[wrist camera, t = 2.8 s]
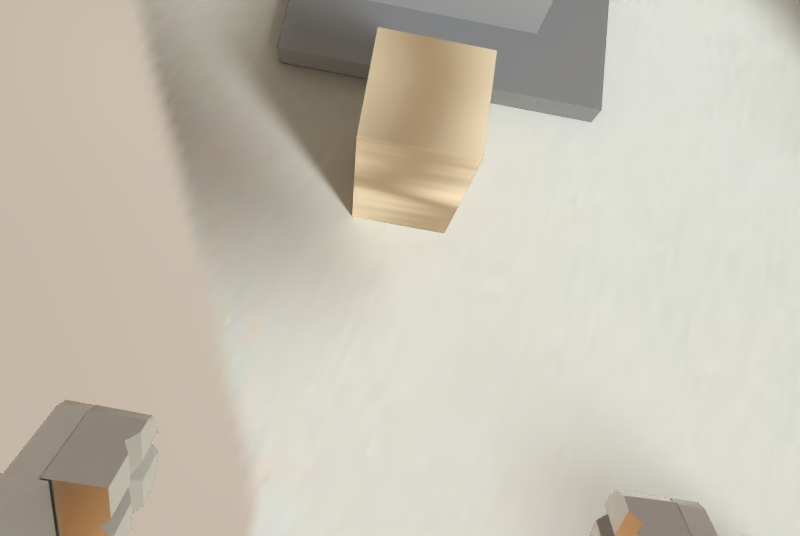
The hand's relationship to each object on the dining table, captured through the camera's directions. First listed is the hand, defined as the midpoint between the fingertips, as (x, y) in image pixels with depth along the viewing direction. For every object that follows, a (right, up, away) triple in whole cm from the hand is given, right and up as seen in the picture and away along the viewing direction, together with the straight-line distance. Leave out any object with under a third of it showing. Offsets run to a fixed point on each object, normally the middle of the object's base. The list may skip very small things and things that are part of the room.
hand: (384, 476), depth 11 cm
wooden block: (+1, +8, +18) cm, 20 cm away
